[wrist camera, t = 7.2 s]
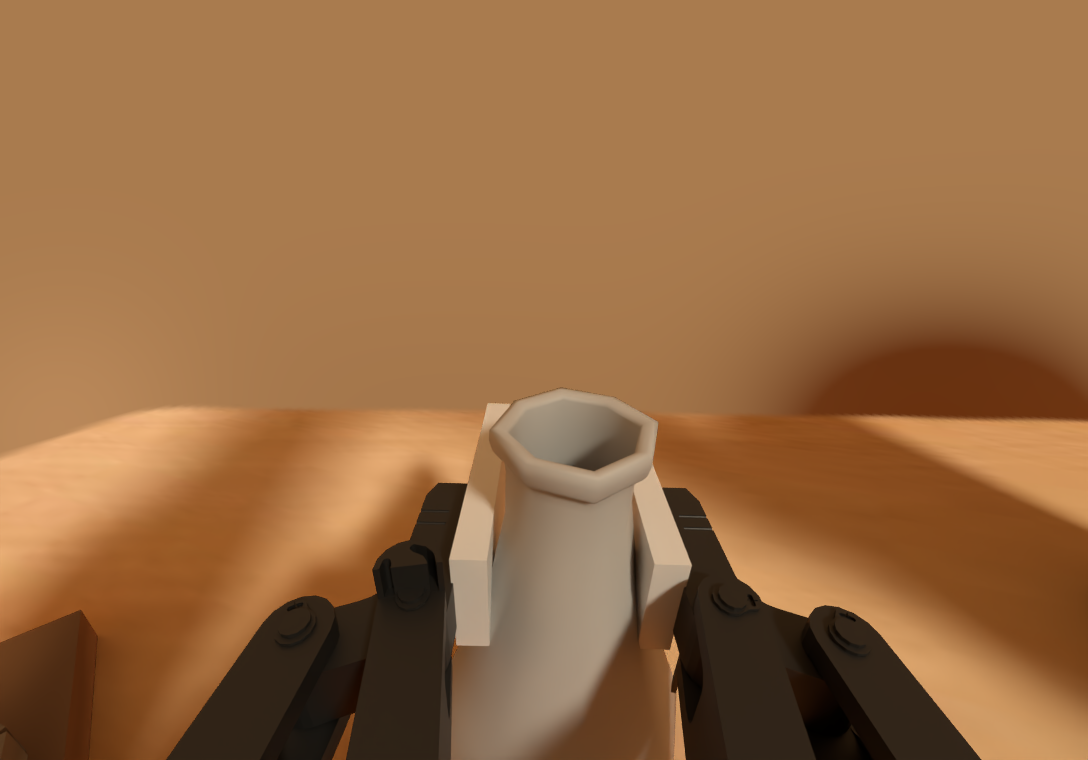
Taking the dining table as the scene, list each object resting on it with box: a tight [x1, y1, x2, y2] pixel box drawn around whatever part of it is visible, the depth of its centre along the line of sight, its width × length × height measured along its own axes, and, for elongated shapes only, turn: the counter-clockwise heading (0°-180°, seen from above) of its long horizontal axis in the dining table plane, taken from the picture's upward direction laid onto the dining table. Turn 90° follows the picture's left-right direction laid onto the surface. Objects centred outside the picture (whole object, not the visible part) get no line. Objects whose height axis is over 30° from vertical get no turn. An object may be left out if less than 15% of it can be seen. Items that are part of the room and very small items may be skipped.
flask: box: [451, 388, 676, 760], centre depth 10 cm, size 7×7×10 cm
